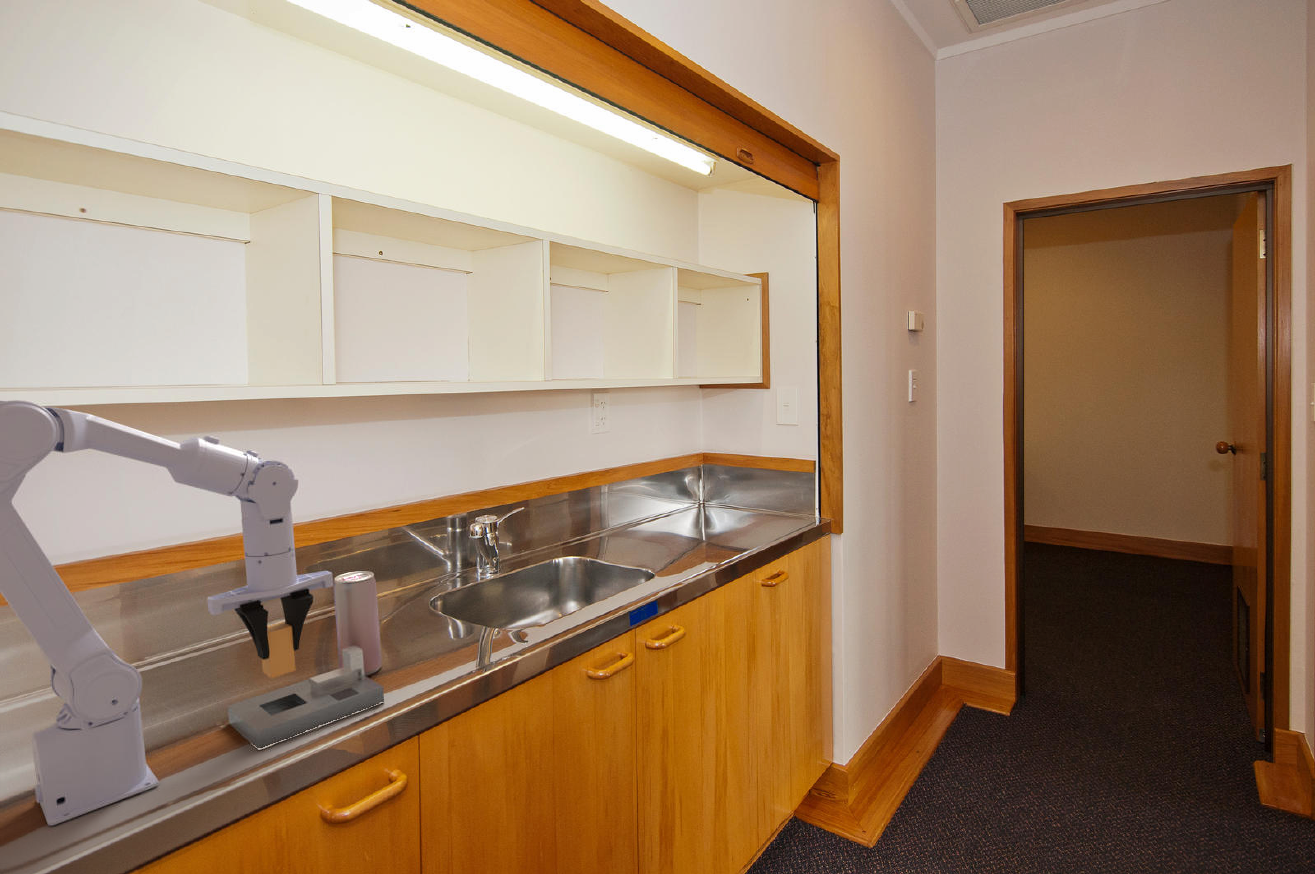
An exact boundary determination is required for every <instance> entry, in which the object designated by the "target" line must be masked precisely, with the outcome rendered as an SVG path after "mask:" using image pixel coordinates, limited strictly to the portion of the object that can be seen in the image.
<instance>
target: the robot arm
mask: <svg viewBox="0 0 1315 874" xmlns="http://www.w3.org/2000/svg"><path fill="white" fill-rule="evenodd" d="M219 443H220V438H218V437H215V436H211V435H205V436H204V437H203V438H200V437H196V436H194V437H191V438H188V439H186V440H183V441H181V442H175V441H172V440H170V439H166V438H164V437H160V436H157V435H155V434H151V433H148V432H144V431H142V430H139V429H136V428H134V427H130V426H127V425H124V424H121V423H118V422H115V421H112V420H108V419H105V418H104V417H100V416H97V415H94V414H90V413H87V412H80V411H75V410H71V409H66V408H59V407H54V406H42V405H39V404H37V403H34V402H32V401H27V400H16V399H15V400H14V399H13V400H0V594H1V596H2V598H4V599H5V602H6V603H7V605H8V606H9V607H10V608H11V610H12V611H13V612H14V614H15V615H16V617H17V618H18V620H19V621H20V623H21V624H22V625H23V628H25V630H26V631H27V632H28V634H29V635H30V637H31V639H32V640H33V641H34V643H35V644H36V645H37V647H38V649H39V651H40V652H41V655H42V656H43V658H44V660H45V661H46V662H47V664H48V666H49V670H50V676H49V677H50V678H49V679H50V680H49V681H50V687H51V690H52V691H53V692H54V694H55V695H56V696H57V697H59V698H60V699H61V700H62V701H64V703H63V705H62V706H61V708H60V710H59V712H58V715H57V716H56V717H55V718H56V719H55V720H56V722H54V723H53V724H52V725H50V726H48V727H45V728H43V729H40V730H37V731H35V732H33V733H32V735H31V742H32V743H31V744H32V753H33V760H34V761H33V763H34V769H35V778H36V785H35V786H34V789H35V790H34V791H35V799H36V802H37V804H40V807H41V810H42V812H43V815H44V817H45V818H44V819H45V820H46V823H47V825H48V826H55V825H58V824H60V823H63V822H65V821H68V820H71V819H73V818H77V817H79V816H81V815H84V814H87V813H89V812H92V811H94V810H97V809H100V808H102V807H105V806H107V805H110V804H113V803H116V802H119V801H121V800H124V799H127V798H128V797H132V796H135V795H137V794H139V793H143V792H145V791H147V790H150V789H152V788H155V787H157V786H158V785H159V779H158V778H157V777H156V775H155V774H154V773H153V770H152V769H151V768H150V766H149V765H148V764H147V761H146V752H145V751H146V750H145V742H144V732H143V731H144V730H143V723H142V713H141V712H142V711H141V704H140V695H141V693H142V689H143V678H142V675H141V673H140V672H139V670H138V669H137V667H135V666H133V665H132V664H130V663H128V662H125V661H124V660H123V659H121V658H120V657H119V656H118V655H117V654H116V652H115V651H114V650H113V649H112V648H110V647H109V645H108V644H107V642H106V641H105V640H104V639H103V638H102V637H101V635H100V634H99V632H97V630H96V629H95V628H94V627H93V625H92V624H91V622H90V620H89V619H88V618H87V616H86V615H85V613H84V611H83V610H82V608H81V607H80V606H79V604H78V602H77V601H76V599H75V598H74V596H73V595H72V594H71V591H70V590H69V589H68V587H67V585H66V584H65V582H64V581H63V580H62V578H61V576H60V575H59V574H58V572H57V570H56V569H55V567H54V566H53V564H52V563H51V561H50V560H49V558H48V557H47V555H46V554H45V552H44V550H43V549H42V548H41V546H40V545H39V543H38V541H37V539H36V538H35V536H34V535H33V534H32V532H31V531H30V529H29V528H28V526H27V525H26V523H25V522H24V520H23V519H22V517H21V515H20V514H19V513H18V511H17V509H16V508H15V506H14V505H13V501H12V500H13V499H14V497H15V495H16V493H17V492H18V490H19V488H20V486H21V485H22V483H23V481H24V479H25V478H26V475H27V474H28V473H29V472H30V471H31V470H32V469H33V468H35V467H36V466H37V465H38V464H39V463H41V462H42V461H43V460H44V459H45V458H46V457H47V456H49V454H51V452H58V453H63V454H65V453H66V454H67V453H73V452H78V451H84V450H88V449H89V450H93V451H94V450H95V451H99V452H102V453H107V454H110V455H115V456H118V457H124V458H126V459H129V460H135V461H140V462H141V463H142V462H143V463H145V464H146V463H147V464H150V465H154V466H158V467H159V466H160V467H162V468H165V469H166V470H167V471H168V473H169V474H170V476H171V478H172V479H173V480H174V482H175V483H177V484H181V485H185V486H189V487H191V488H192V487H193V488H197V489H200V490H204V491H208V492H212V493H214V494H215V493H216V494H219V495H222V496H227V497H235V498H236V499H237V500H239V501H240V503H239V504H240V512H241V527H242V537H243V538H242V539H243V541H242V542H243V550H244V563H245V572H246V573H245V574H246V584H247V585H245V586H243V587H239V588H235V589H233V590H230V591H226V592H224V593H223V592H222V593H219V594H216V595H212V596H208V597H207V598H206V600H207V601H206V602H207V608H208V609H207V610H208V613H209V614H211V615H212V616H216V615H217V616H218V615H220V614H221V615H222V614H223V613H224V612H227V611H230V610H235V612H236V614H237V615H238V616H239V618H240V620H241V621H242V622H243V624H244V625H245V627H246V630H247V631H248V632H249V634H250V636H251V639H252V641H253V644H254V646H255V649H256V652H257V656H258V657H259V658H260V659H261V660H262V659H263V660H265V659H268V658H269V655H270V651H269V643H268V636H267V626H268V622H269V621H268V620H269V610H267V609H265V608H264V604H262V603H263V602H269V601H273V600H277V599H280V601H281V602H280V603H281V605H282V609H283V610H282V611H283V615H284V617H283V618H284V621H285V622H284V623H286V624H288V625H290V626H292V635H293V648H294V652H295V651H298V650H299V649H300V642H301V635H302V631H303V627H304V623H305V621H306V618H307V615H308V613H309V610H310V609H311V607H312V605H313V603H314V595H313V594H312V593H310V591H313V590H318V589H321V588H324V589H327V588H328V589H329V588H333V586H334V578H333V572H331V571H328V570H322V571H317V572H312V573H306V574H305V573H304V574H298V573H297V572H298V571H297V562H296V561H297V560H296V559H297V558H296V548H295V537H294V523H293V513H292V505H291V504H292V503H291V501H292V499H293V497H294V496H295V495H296V492H297V491H298V488H299V487H298V486H299V480H298V479H297V478H295V475H294V472H293V471H292V469H290V467H289V466H288V465H287V464H286V463H283V461H282V462H281V461H279V460H278V461H277V460H270V459H261V457H258V456H259V453H258V452H256V451H255V450H251V449H249V450H246V451H242V450H238V449H235V448H232V447H229V446H226V445H222V444H219Z"/></svg>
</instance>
